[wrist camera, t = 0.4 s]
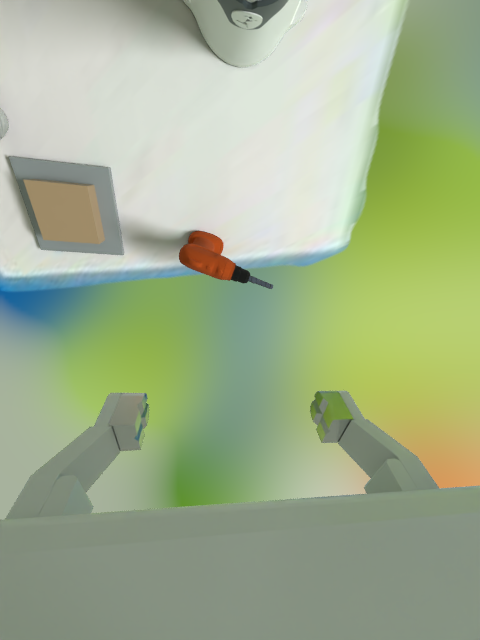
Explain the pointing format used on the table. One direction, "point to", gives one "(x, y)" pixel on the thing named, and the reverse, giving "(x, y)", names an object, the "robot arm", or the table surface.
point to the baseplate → (74, 176)
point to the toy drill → (213, 259)
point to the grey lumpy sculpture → (3, 124)
